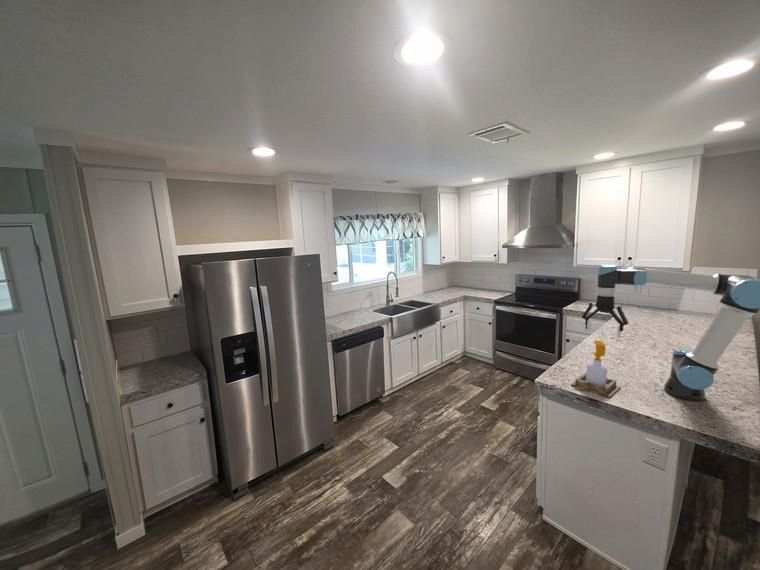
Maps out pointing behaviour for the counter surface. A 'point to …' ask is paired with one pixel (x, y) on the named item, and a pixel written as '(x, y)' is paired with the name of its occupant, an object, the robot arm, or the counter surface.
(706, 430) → the counter surface
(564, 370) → the counter surface
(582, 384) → the picture frame
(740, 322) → the robot arm
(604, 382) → the orange capped white bottle
